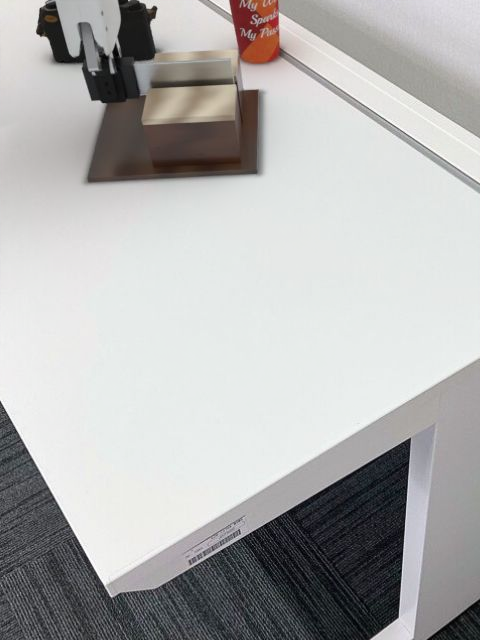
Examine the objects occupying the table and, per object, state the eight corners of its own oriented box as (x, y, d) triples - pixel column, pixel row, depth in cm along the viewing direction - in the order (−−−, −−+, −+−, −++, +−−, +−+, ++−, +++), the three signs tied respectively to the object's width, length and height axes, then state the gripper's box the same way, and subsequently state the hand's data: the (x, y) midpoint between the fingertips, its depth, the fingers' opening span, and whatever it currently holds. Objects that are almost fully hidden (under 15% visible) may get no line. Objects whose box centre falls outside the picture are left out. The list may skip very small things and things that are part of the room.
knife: (91, 101, 96) (81, 68, 93) (94, 91, 97) (84, 59, 94) (234, 93, 96) (230, 60, 93) (235, 84, 98) (230, 51, 95)
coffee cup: (250, 75, 112) (238, -31, 101) (222, 53, 117) (207, -51, 105) (298, 57, 115) (291, -47, 104) (269, 37, 120) (259, -66, 109)
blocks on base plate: (89, 184, 95) (71, 129, 89) (110, 102, 108) (95, 50, 102) (257, 175, 96) (250, 120, 90) (259, 95, 108) (253, 42, 103)
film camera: (155, 22, 124) (141, -42, 116) (170, 58, 116) (156, -9, 108) (42, 42, 120) (20, -23, 112) (49, 80, 112) (27, 13, 105)
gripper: (52, -85, 88) (95, 65, 102) (22, -26, 77) (75, 132, 91) (117, -89, 88) (152, 62, 102) (96, -30, 78) (138, 129, 92)
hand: (115, 94), depth 97 cm, fingers closed on knife, 2 cm apart
